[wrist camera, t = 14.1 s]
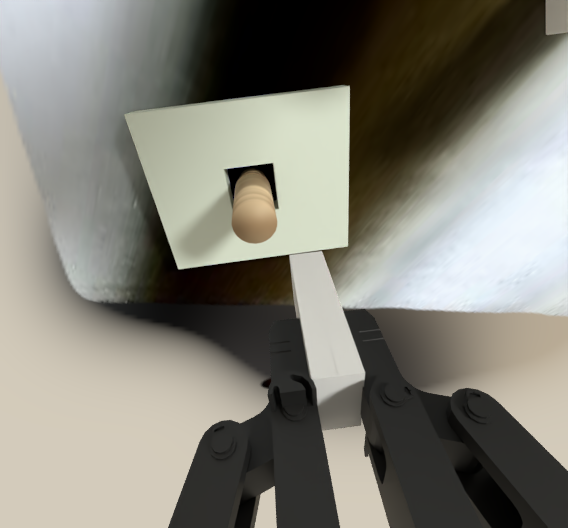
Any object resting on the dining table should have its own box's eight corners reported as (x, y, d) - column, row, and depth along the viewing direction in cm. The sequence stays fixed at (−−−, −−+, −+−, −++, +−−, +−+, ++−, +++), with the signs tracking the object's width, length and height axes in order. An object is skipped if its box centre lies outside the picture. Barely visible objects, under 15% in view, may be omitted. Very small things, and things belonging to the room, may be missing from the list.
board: (134, 111, 32) (124, 114, 29) (342, 85, 32) (349, 86, 30) (182, 257, 41) (178, 269, 39) (342, 235, 42) (347, 246, 39)
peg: (233, 167, 36) (227, 204, 26) (266, 163, 36) (274, 198, 26) (239, 199, 38) (236, 246, 28) (270, 195, 38) (279, 240, 28)
